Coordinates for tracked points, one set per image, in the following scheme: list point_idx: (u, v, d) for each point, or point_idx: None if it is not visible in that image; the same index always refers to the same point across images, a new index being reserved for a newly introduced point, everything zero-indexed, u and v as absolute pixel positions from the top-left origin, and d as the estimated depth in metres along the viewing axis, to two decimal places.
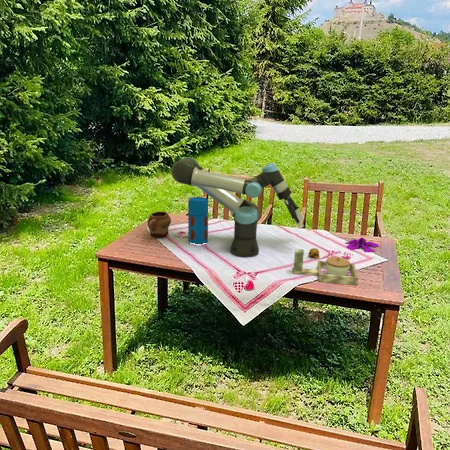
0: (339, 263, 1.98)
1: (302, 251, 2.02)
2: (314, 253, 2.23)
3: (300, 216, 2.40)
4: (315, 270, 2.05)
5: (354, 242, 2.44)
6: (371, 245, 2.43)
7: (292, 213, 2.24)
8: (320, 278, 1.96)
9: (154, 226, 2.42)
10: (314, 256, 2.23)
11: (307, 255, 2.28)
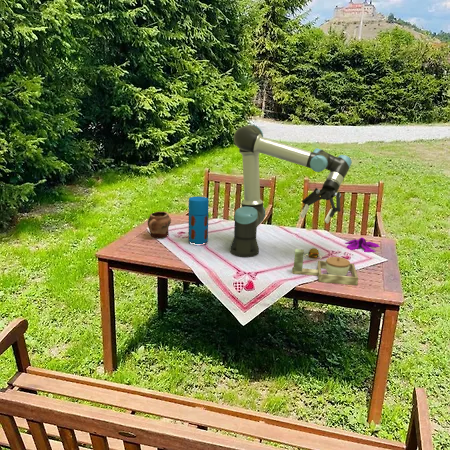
0: (339, 263, 1.98)
1: (302, 251, 2.02)
2: (314, 253, 2.23)
3: (305, 212, 2.12)
4: (315, 270, 2.05)
5: (354, 242, 2.45)
6: (371, 245, 2.43)
7: (339, 206, 2.03)
8: (320, 278, 1.96)
9: (154, 226, 2.42)
10: (314, 256, 2.23)
11: (306, 255, 2.28)
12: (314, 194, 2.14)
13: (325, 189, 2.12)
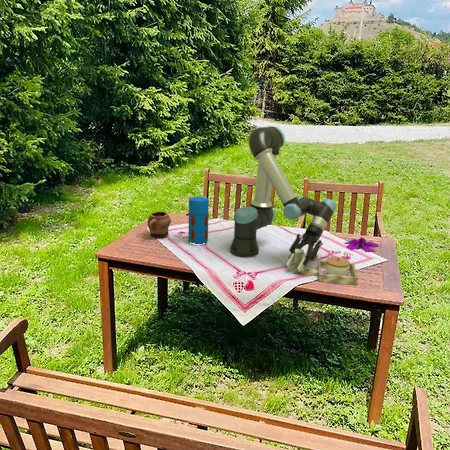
0: (339, 263, 1.98)
1: (302, 251, 2.02)
2: None
3: (291, 262, 2.06)
4: (315, 270, 2.05)
5: (354, 242, 2.45)
6: (371, 245, 2.44)
7: (314, 255, 2.01)
8: (320, 278, 1.96)
9: (154, 226, 2.42)
10: None
11: None
12: (298, 240, 2.10)
13: (308, 232, 2.09)
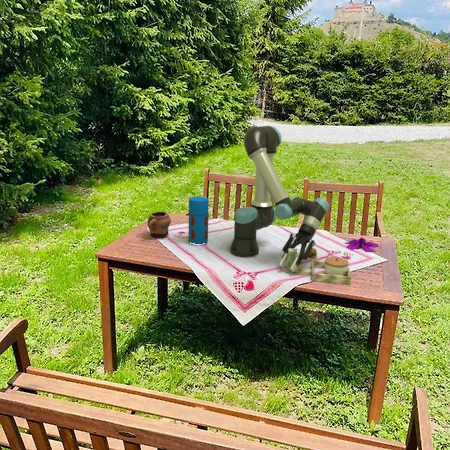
0: (338, 263, 1.99)
1: (295, 250, 2.03)
2: (312, 253, 2.23)
3: (284, 262, 2.06)
4: (308, 269, 2.06)
5: (354, 242, 2.45)
6: (371, 245, 2.44)
7: (307, 255, 2.01)
8: (313, 277, 1.97)
9: (154, 226, 2.42)
10: (312, 256, 2.24)
11: None
12: (291, 240, 2.10)
13: (301, 232, 2.09)
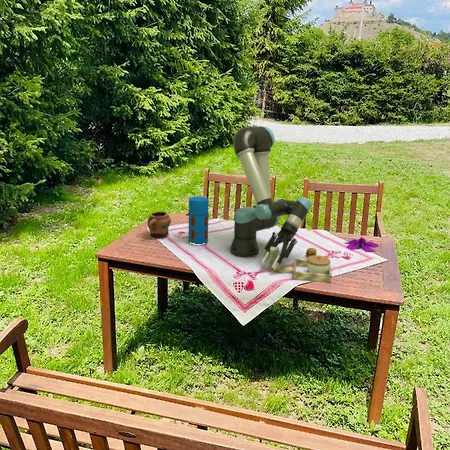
0: (320, 261, 1.99)
1: (277, 249, 2.04)
2: (312, 253, 2.23)
3: (266, 260, 2.07)
4: (291, 268, 2.07)
5: (354, 242, 2.45)
6: (371, 245, 2.44)
7: (288, 253, 2.02)
8: (294, 276, 1.98)
9: (154, 226, 2.42)
10: None
11: None
12: (273, 238, 2.11)
13: (283, 230, 2.10)
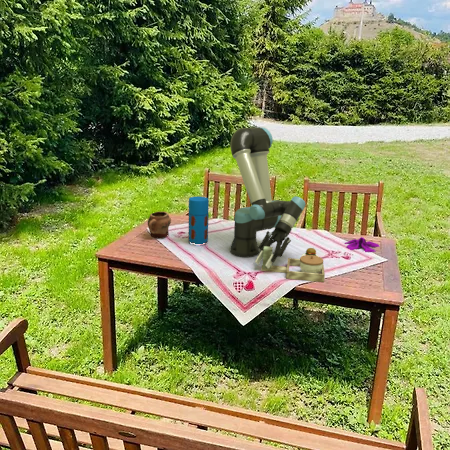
0: (313, 261, 2.00)
1: (271, 248, 2.04)
2: (311, 253, 2.23)
3: (260, 259, 2.08)
4: (284, 267, 2.07)
5: (354, 242, 2.45)
6: (371, 245, 2.44)
7: (282, 252, 2.03)
8: (287, 275, 1.99)
9: (154, 226, 2.42)
10: None
11: None
12: (267, 237, 2.12)
13: (277, 230, 2.11)
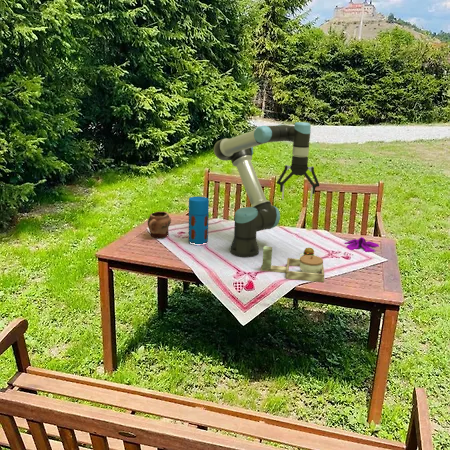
0: (313, 261, 2.00)
1: (270, 248, 2.04)
2: (310, 252, 2.23)
3: (283, 193, 2.13)
4: (284, 267, 2.07)
5: (354, 242, 2.45)
6: (371, 245, 2.44)
7: None
8: (287, 275, 1.99)
9: (154, 226, 2.42)
10: None
11: None
12: (285, 172, 2.09)
13: (296, 166, 2.07)
